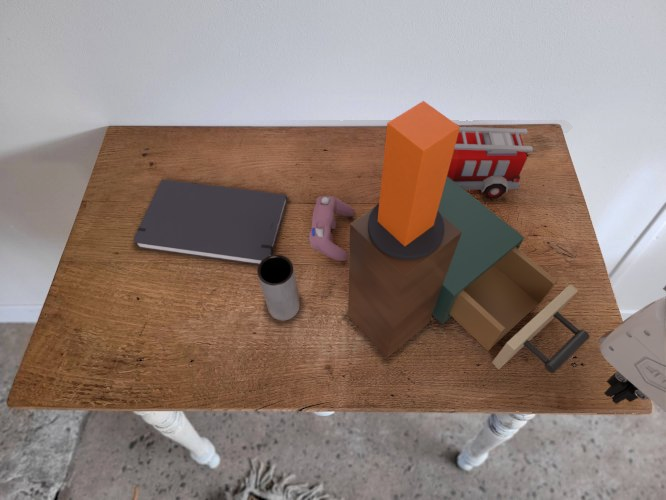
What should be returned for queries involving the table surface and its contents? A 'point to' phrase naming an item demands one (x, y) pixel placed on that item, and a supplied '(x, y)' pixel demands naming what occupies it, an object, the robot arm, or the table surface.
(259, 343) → the table surface
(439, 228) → the coaster
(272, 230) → the notebook
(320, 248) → the video game controller
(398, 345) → the stand
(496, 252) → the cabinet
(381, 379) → the table surface
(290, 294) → the planter
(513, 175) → the toy fire truck
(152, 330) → the table surface
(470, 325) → the drawer
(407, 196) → the block
